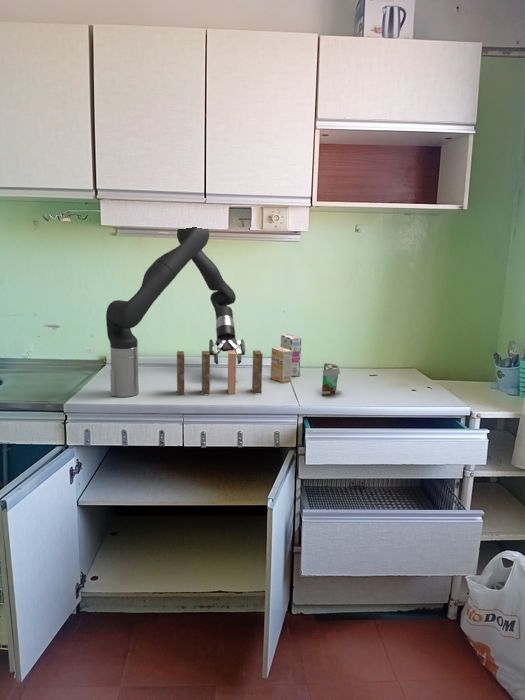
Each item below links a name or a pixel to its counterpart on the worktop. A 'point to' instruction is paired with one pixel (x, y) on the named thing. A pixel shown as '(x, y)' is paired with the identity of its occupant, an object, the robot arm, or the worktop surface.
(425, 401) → the worktop surface
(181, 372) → the near walnut tile
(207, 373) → the middle walnut tile
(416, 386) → the worktop surface
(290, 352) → the supplement box
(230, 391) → the terracotta tile
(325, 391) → the food container
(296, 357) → the candy bar box
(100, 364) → the worktop surface
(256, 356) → the wood grain beam
